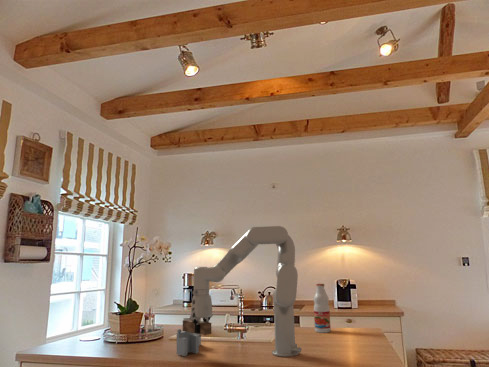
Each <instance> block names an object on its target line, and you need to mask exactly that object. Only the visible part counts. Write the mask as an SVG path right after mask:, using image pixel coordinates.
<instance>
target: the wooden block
mask: <svg viewBox="0 0 489 367" xmlns="http://www.w3.org/2000/svg"><path fill="white" fill-rule="evenodd" d="M199 325H200V334H201V336H208V335H212V322H210V321H209V322H203V320H202V321H200V322H199ZM184 331H185V332H191V333H195V324H194V323H193V322H192V321H191V320H190V319H188V320H184V319H183V320H182V332H184ZM196 334H198V333H196Z"/></svg>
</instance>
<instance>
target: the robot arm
mask: <svg viewBox="0 0 489 367" xmlns="http://www.w3.org/2000/svg"><path fill="white" fill-rule="evenodd" d="M259 245H275V246H276V247H277V262H276V269H275V275H276V276H275V277H276V287H275V289H274V290H273V293H272V302H273V315H274V316H273V318H274V319H273V320H274V325H273V326H274V348H275V349H273V350H272V351H271V354H272V355H273V356H275V357H276V356H277V357H281V358H283V357H296V356H298V355H299V354H300V353H301V352H302V351H303V350H302V347H299V346H298V343H296V337H295V335H296V334H295V333H296V332H295V312H294V311H295V310H294V304H295V303H296V298H297V291H298V290H297V288H298V279H299V278H298V276H299V274H298V269H297V267H296V266H295V264H296V263H295V262H296V247H295V242H294V241H293V239H292V237H291V236H290V235H289V233H288V230H287V229H286V228H285V227H284V226H281V225H273V226H272V225H271V226H252V227H251V228H249V229H248V230H247V231H246V232H245V233H244V234H243V235H242V236H241V237H240V239H239V240H237V241H236V242H235V243H234V244H233V245H232V246H231V247H230V248H229V250H228V251H227V253H226V254H225V255H224V256H223V257H222V258H221V259H220V260H219V261H218V262H217V263H216V264H215V265H214V266H210V267H207V266H195V268H194V269H193V290H192V295H193V296H192V299H191V306H190V307H191V310H190V315H189V317H190V318H189V319H190V320H191V321H192V322H193V323H194V324H195V333H198V334H200V325H199V322H200V318H201V319H202V321H203V322H209V323H210V320H211V318H212V317H213V302H212V297H211V295H210V282H211V283H220V282H222V281H223V280H224V278H225V277H226V276H227V275H228V274H229V273H231V271H233V269H234V268H235V267H236V266H238V265H239V264H240V263H242V262H243V261H244V260H245V259H246V258H247V257H248V256H249V255H250V254H251V253H252V252H253V251H254V250H255V249H256V248H257V247H258V246H259Z"/></svg>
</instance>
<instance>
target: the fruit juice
mask: <svg viewBox="0 0 489 367" xmlns="http://www.w3.org/2000/svg"><path fill="white" fill-rule="evenodd" d="M315 285H316V290H315V293H314V296H313V316H314V319H313V320H314V331H315V332H316V333H319V334H321V333H322V334H323V333H325V334H327V333H330V332H331V315H330V314H331V313H330V305H329V300H330V299H329V296H328V293H327V292H326V288H325V284H324V283H315Z"/></svg>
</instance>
